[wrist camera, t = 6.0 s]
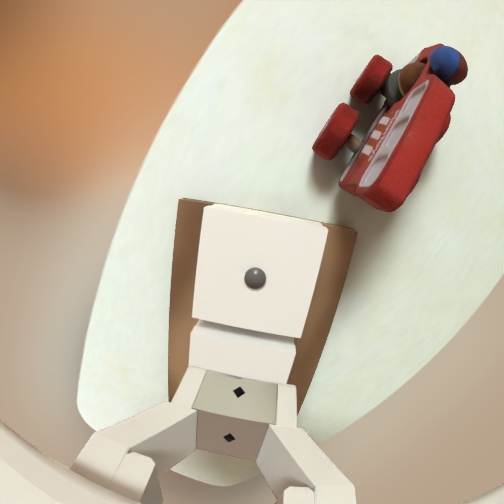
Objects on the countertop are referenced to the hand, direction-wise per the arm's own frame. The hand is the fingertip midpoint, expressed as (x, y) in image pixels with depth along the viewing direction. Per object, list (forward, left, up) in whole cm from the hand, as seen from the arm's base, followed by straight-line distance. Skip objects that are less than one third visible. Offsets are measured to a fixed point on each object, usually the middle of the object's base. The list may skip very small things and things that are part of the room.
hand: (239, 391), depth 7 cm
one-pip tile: (0, 0, -12) cm, 12 cm away
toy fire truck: (-7, -11, -15) cm, 20 cm away
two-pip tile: (0, +8, -12) cm, 14 cm away
